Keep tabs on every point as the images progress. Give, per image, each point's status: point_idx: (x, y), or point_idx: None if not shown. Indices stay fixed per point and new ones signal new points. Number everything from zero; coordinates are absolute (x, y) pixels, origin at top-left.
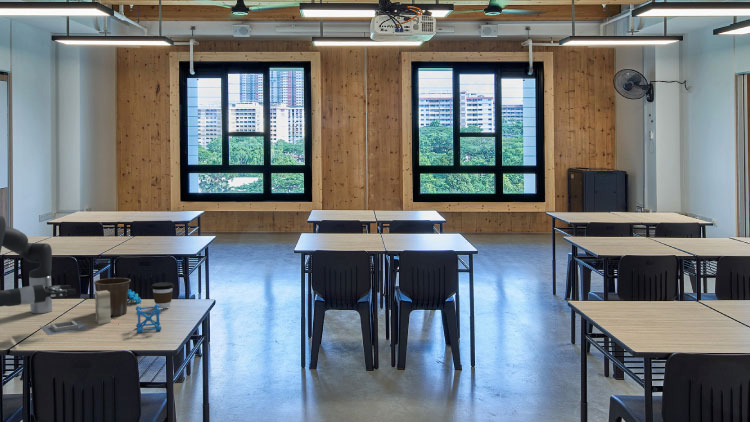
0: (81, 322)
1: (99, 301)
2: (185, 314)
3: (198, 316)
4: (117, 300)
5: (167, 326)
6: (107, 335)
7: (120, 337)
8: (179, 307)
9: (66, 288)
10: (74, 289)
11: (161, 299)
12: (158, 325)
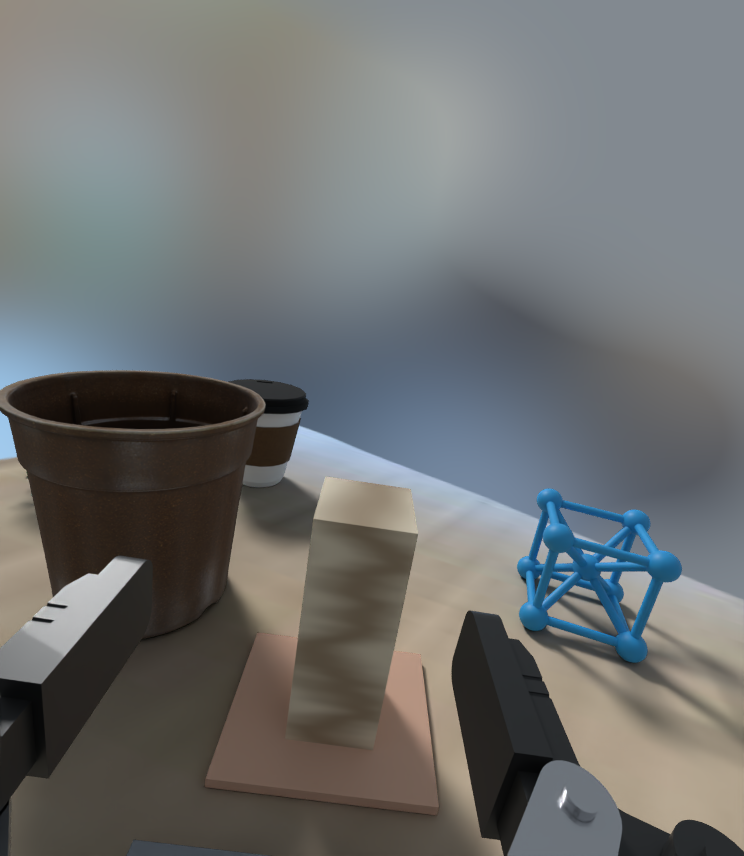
0: (212, 849)
1: (403, 590)
2: (398, 486)
3: (445, 483)
4: (236, 511)
5: (541, 561)
6: (674, 821)
7: (734, 771)
8: (296, 462)
9: (109, 652)
10: (502, 629)
11: (286, 449)
12: (618, 581)
